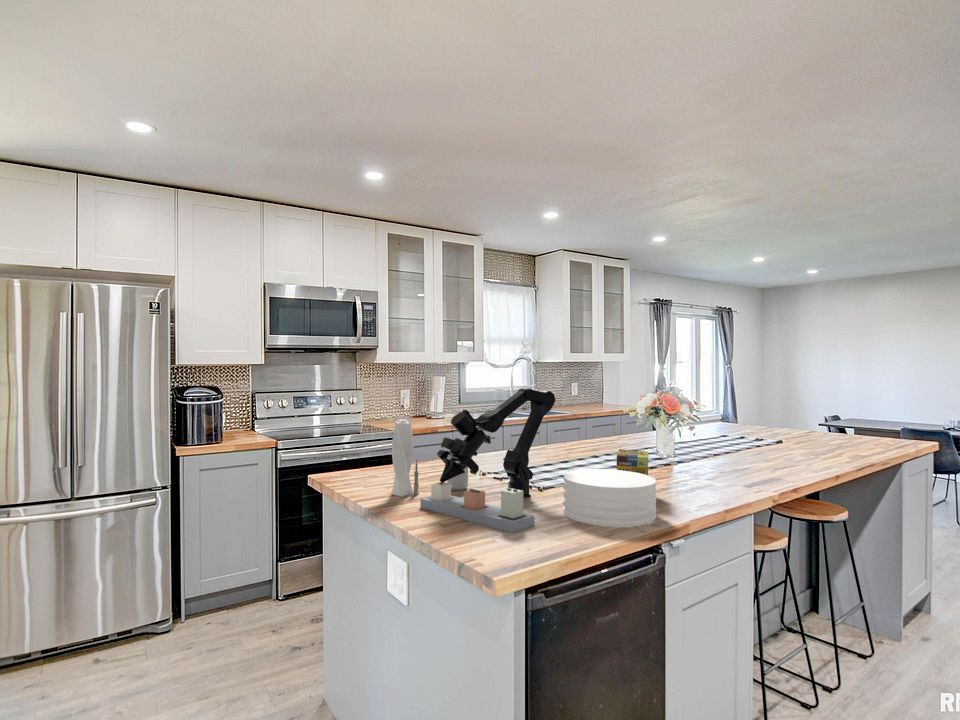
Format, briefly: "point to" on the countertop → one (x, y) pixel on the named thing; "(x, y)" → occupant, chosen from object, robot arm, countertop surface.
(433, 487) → the cream block
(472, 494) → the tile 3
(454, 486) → the can
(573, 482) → the plate stack
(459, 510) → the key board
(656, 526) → the countertop surface
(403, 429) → the skyscraper
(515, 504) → the green block
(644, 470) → the protein box
